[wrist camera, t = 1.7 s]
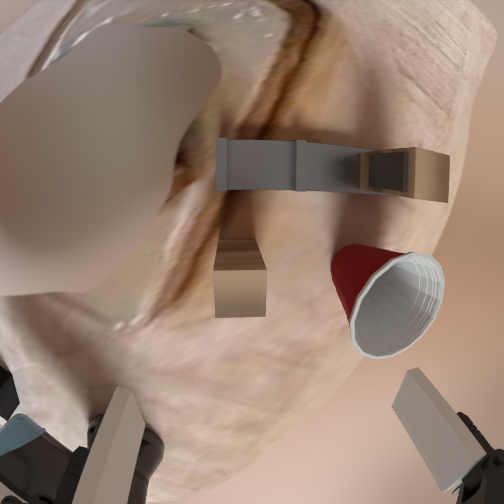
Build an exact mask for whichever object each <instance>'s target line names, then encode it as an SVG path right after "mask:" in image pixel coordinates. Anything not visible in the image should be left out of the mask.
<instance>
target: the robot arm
mask: <svg viewBox="0 0 504 504" xmlns="http://www.w3.org/2000/svg"><path fill="white" fill-rule="evenodd" d="M392 408H393V410H394V411H395V413H396V415H397V416H398V418H399V419H400V421H401V423H402V424H403V426H404V428H405V429H406V431H407V433H408V434H409V436H410V438H411V439H412V441H413V443H414V444H415V446H416V448H417V449H418V451H419V453H420V454H421V456H422V458H423V459H424V461H425V463H426V465H427V466H428V468H429V470H430V471H431V473H432V475H433V477H434V479H435V480H436V482H437V484H438V486H439V488H440V489H441V491H442V493H444V492H445V491H447V490H449V489H450V488H452V487H454V486H455V485H456V484H457V483H458V482H459V481H460V480H462V483H461V484H460V485H459V486H458V487H457V488H456V489H455V490H454V491H453V493H452V495H454V494H455V493H456V492H457V491H458V490H459V492H458V493H457V494H456V495H458V498H457V503H456V504H504V450H502V449H496V450H494V449H493V448H492V447H491V446H490V444H489V443H488V442H487V440H486V439H485V438H484V436H483V435H482V434H481V433H480V431H479V430H477V427H476V426H475V425H473V422H472V421H471V420H470V419H469V417H468V416H466V415H465V414H463V413H462V412H458V413H455V411H454V410H453V409H452V407H451V406H450V405H449V404H448V402H447V401H446V400H445V399H444V398H443V396H442V395H441V394H440V393H439V391H437V389H436V388H435V387H434V385H433V384H432V383H431V382H430V381H429V379H428V378H427V377H426V376H425V375H424V373H423V372H422V371H421V370H420V369H419V368H414V369H411V370H407V372H406V375H405V377H404V379H403V382H402V384H401V387H400V389H399V392H398V394H397V396H396V398H395V400H394V402H393V405H392ZM163 454H164V445H163V443H162V441H161V440H160V439H159V438H158V437H157V436H156V435H155V434H154V433H153V432H151V431H150V430H148V429H147V428H145V422H144V420H143V417H142V415H141V412H140V409H139V407H138V404H137V401H136V398H135V396H134V393H133V390H132V388H125V387H118V386H117V387H116V390H115V392H114V394H113V396H112V399H111V401H110V403H109V406H108V408H107V410H106V413H105V415H100V416H96V417H94V418H93V419H92V420H91V422H90V425H89V427H88V431H87V448H85V447H81V446H79V447H78V448H77V449H76V450H75V451H74V452H72V451H71V450H69V449H68V448H67V447H65V446H64V445H63V444H61V443H60V442H59V441H57V440H56V439H55V438H54V437H52V436H51V435H50V434H49V433H48V432H46V429H45V428H42V427H40V426H39V425H38V424H37V423H35V422H34V421H33V420H32V419H31V418H29V417H28V416H27V415H25V414H21V413H20V414H16V415H14V416H13V417H12V418H11V419H10V420H9V421H8V422H7V423H6V424H5V425H4V426H3V427H2V428H1V429H0V504H145V502H146V496H147V489H148V483H149V479H150V477H151V476H152V474H153V473H154V472H155V470H156V469H157V467H158V466H159V464H160V462H161V461H162V459H163Z"/></svg>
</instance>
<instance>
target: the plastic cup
mask: <svg viewBox="0 0 504 504" xmlns="http://www.w3.org/2000/svg"><path fill="white" fill-rule="evenodd" d="M331 274H332V281H333V283H334V285H335V287H336V291H337V294H338V296H339V298H340V300H341V303H342V305H343V307H344V310H345V312H346V314H347V319H348V321H349V326H350V338H351V342H352V344H353V345H354V346H355V348H356V349H357V351H358V352H359V354H360V355H363V356H366V357H368V358H371V359H381V358H389V357H392V356H394V355H396V354H398V353H400V352H402V351H404V350H406V349H408V348H409V347H410V346H411V345H413V344H414V343H415V342H416V341H417V340H418V339H420V338H421V337H422V336H423V335H424V333H425V332H426V330H427V329H428V328H429V326H430V325H431V324H432V322H433V321H434V319H435V317H436V315H437V313H438V310H439V308H440V305H441V303H442V300H443V294H444V284H445V280H444V276H443V272H442V268H441V265H440V264H439V263H438V262H437V261H436V260H435V259H434V258H433V257H432V256H431V255H429V254H422V253H416V252H408V253H406V254H405V253H398V252H393V251H389V250H385V249H380V248H376V247H369V246H364V245H357V244H355V245H350V246H347V247H344V248H343V249H342V250H340V251H339V252H338V253H337V255H336V256H335V258H334V259H333V262H332V266H331Z"/></svg>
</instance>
